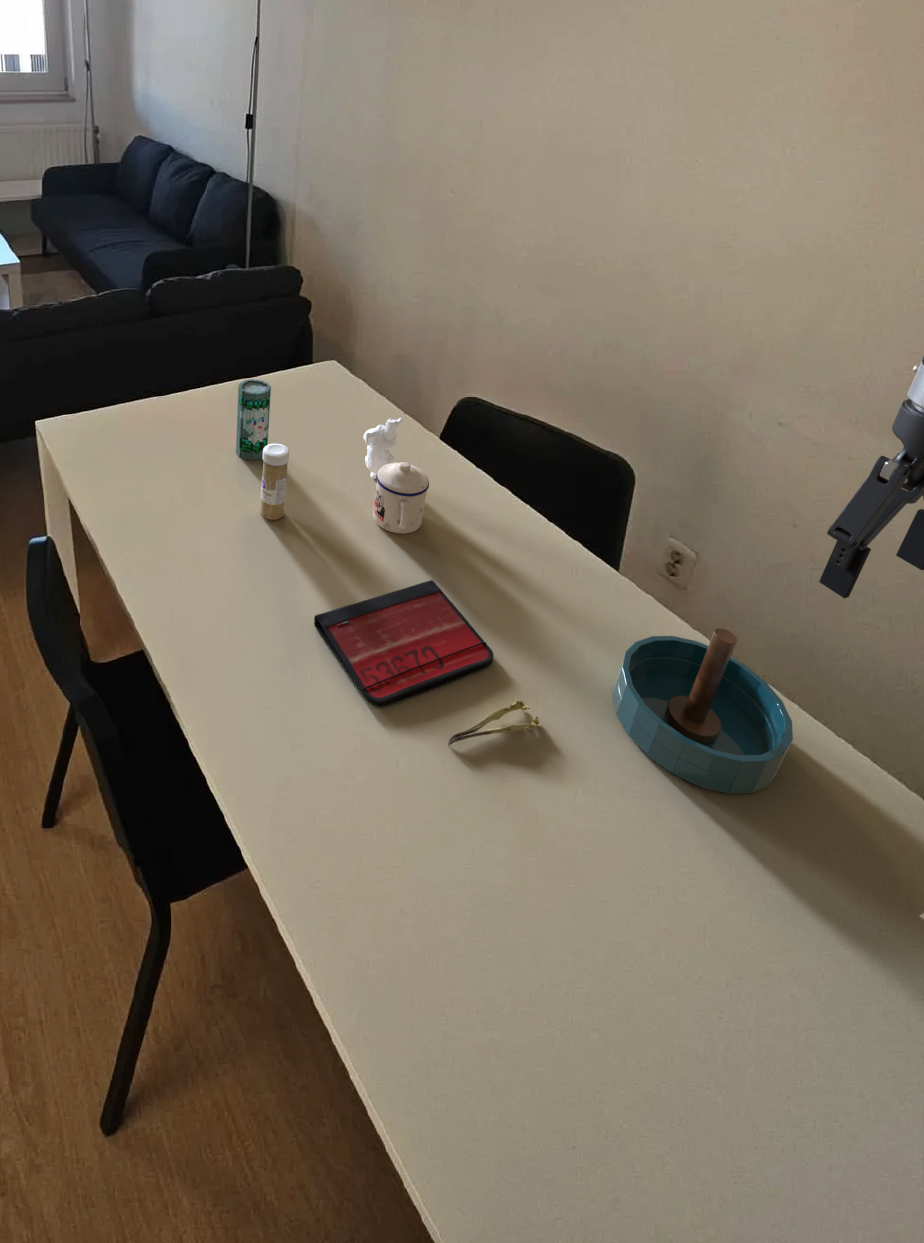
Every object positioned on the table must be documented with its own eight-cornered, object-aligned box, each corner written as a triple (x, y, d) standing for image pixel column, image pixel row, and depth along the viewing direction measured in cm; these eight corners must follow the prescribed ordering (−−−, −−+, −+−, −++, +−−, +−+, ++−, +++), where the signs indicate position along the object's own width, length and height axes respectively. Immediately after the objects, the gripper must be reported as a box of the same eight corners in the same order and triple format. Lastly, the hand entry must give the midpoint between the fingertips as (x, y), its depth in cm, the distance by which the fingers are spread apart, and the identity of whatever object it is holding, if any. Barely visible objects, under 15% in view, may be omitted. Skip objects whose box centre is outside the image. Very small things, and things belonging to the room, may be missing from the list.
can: (243, 462, 148) (246, 395, 142) (232, 446, 153) (234, 381, 147) (271, 457, 150) (275, 391, 144) (259, 441, 155) (263, 377, 150)
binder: (314, 613, 108) (432, 577, 116) (312, 625, 109) (429, 588, 117) (373, 703, 95) (501, 656, 103) (371, 716, 96) (498, 668, 104)
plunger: (728, 735, 94) (766, 647, 88) (694, 750, 92) (730, 661, 86) (687, 698, 99) (720, 612, 93) (654, 711, 97) (686, 624, 91)
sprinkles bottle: (254, 511, 134) (257, 447, 128) (273, 502, 136) (277, 439, 131) (270, 524, 131) (274, 459, 125) (290, 515, 133) (294, 451, 128)
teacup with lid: (369, 501, 138) (376, 448, 133) (419, 506, 137) (428, 452, 132) (374, 544, 127) (381, 487, 122) (428, 549, 126) (437, 492, 121)
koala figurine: (388, 461, 150) (395, 409, 146) (406, 479, 145) (414, 426, 140) (351, 468, 148) (357, 415, 143) (368, 487, 142) (375, 433, 137)
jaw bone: (441, 737, 93) (444, 726, 92) (519, 706, 98) (523, 695, 98) (464, 766, 90) (467, 754, 89) (543, 732, 95) (547, 721, 94)
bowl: (811, 767, 91) (829, 733, 89) (703, 818, 85) (718, 783, 82) (681, 653, 107) (692, 622, 105) (581, 689, 101) (591, 656, 98)
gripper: (979, 378, 83) (905, 532, 91) (832, 412, 74) (765, 578, 83) (1067, 410, 76) (978, 572, 85) (917, 450, 68) (835, 626, 76)
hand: (873, 575), depth 84 cm, fingers open, 13 cm apart
